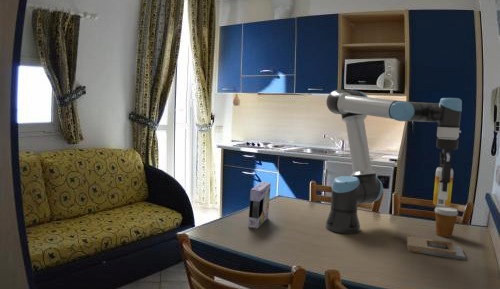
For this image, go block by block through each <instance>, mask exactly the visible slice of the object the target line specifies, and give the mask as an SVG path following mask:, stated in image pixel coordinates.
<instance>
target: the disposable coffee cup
mask: <svg viewBox="0 0 500 289" xmlns="http://www.w3.org/2000/svg"><path fill="white" fill-rule="evenodd" d="M434 214H435V234H436V235H437V236H440V237H444V238H452V237H453V232H454V228H455V225H456V220H457V216H458V215H459V212H458V209H457V208H455V207H450V206H449V207H448V208H442V207H437V206H435V208H434Z"/></svg>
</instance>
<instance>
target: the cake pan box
mask: <svg viewBox="0 0 500 289" xmlns="http://www.w3.org/2000/svg"><path fill="white" fill-rule="evenodd" d="M271 183H272V182H271ZM271 183H270V182H268V181H267V182H266V181H261V182H260V183H259V184H256V185H255V186H254V187H252V188H251V189H250V193H249V194H250V196H249V208H248V210H249V211H248V225H247V226H248V228H251V229H256V230H257V229H259V227H260V226H262V225H263V224H264V222H265V221H267V219H268V218H269V210H270V207H269V206H270V197H271V185H272V184H271Z"/></svg>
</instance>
